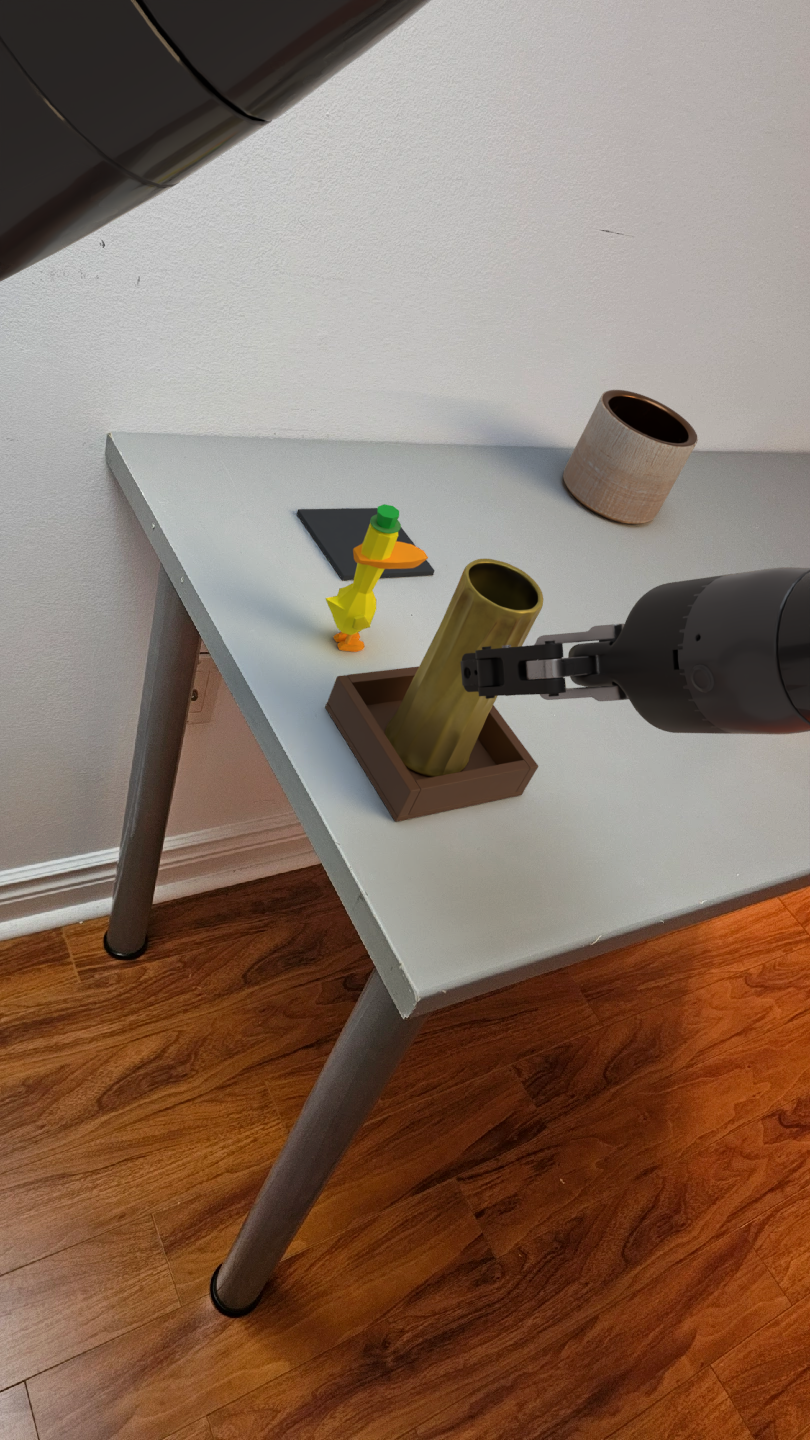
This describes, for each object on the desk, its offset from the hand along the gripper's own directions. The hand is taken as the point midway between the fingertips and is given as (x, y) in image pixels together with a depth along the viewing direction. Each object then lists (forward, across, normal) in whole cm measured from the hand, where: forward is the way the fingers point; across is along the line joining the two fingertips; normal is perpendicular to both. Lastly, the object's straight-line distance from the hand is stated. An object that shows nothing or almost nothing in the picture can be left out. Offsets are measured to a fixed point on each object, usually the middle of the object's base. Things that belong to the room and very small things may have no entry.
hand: (525, 667), depth 63 cm
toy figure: (+20, 0, -2) cm, 20 cm away
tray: (+12, 0, +5) cm, 13 cm away
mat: (+28, -6, -11) cm, 31 cm away
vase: (+12, 0, +5) cm, 13 cm away
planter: (+34, -40, -16) cm, 55 cm away
